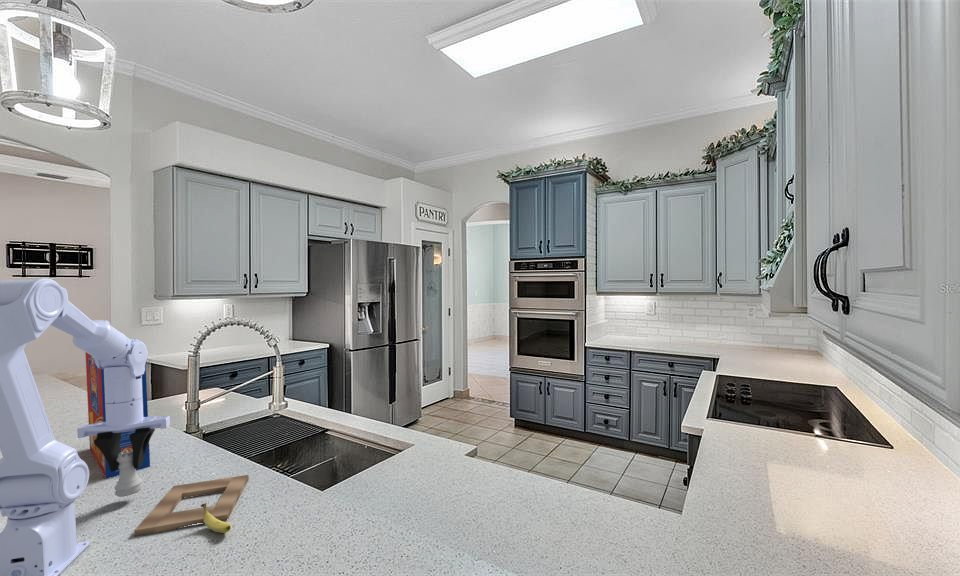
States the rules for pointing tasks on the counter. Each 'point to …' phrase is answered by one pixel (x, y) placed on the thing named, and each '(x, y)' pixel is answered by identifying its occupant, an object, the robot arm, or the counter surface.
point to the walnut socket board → (166, 520)
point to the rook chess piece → (127, 476)
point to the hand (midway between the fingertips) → (127, 468)
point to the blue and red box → (99, 415)
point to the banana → (215, 522)
